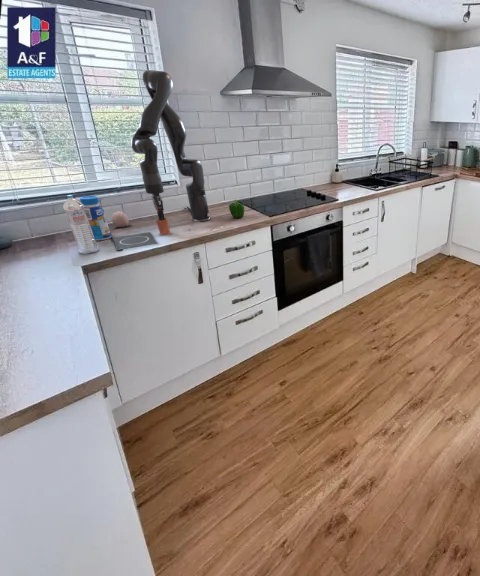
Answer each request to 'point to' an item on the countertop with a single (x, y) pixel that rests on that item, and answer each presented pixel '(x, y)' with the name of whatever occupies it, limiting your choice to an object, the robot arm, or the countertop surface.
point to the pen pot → (163, 226)
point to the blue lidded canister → (96, 217)
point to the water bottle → (80, 226)
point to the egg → (119, 219)
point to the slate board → (133, 241)
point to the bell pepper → (236, 209)
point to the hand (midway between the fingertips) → (161, 217)
